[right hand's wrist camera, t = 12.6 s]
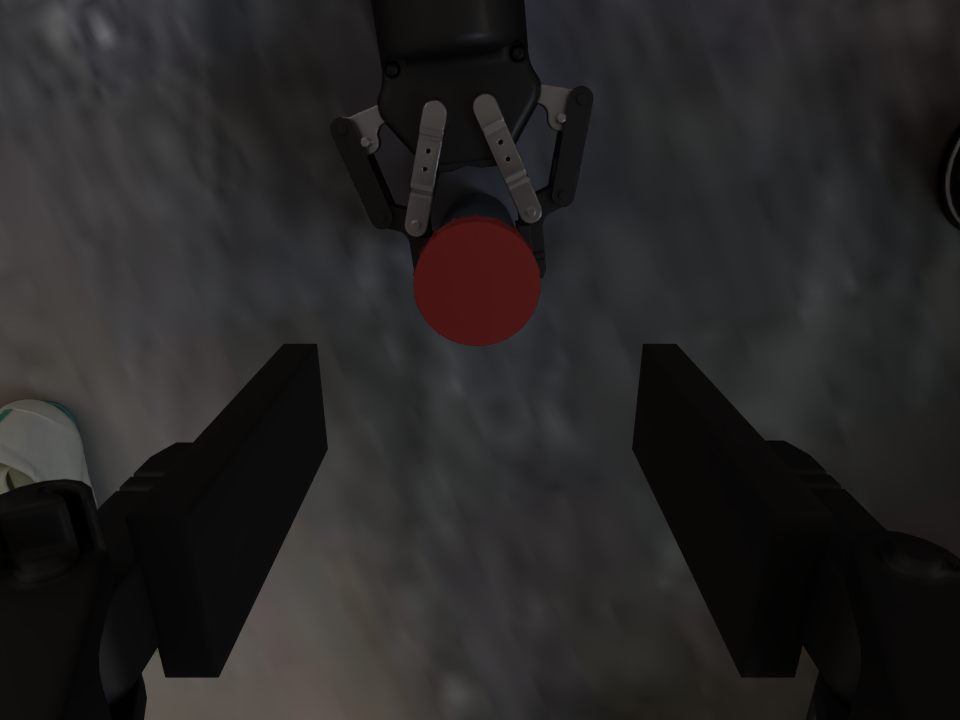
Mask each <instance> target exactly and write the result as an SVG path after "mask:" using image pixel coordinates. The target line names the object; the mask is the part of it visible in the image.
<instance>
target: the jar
mask: <svg viewBox="0 0 960 720" xmlns="http://www.w3.org/2000/svg"><path fill="white" fill-rule="evenodd" d="M474 214H476V216H487V217H492V218H495V217H498V220H501V221H503V222H505V223H507V224H508V225H510V226H511V227H513V228H514V224H513V222H512V219H511V217H510V214H509V212H508V210H507V209H506V207H505V206H504V205H503V204H502V203H501V202H500V201H499V200H497V199H496V198H494V197H492V196H490V195H487V194H482V193H473V194H468V195H465V196H463V197H461V198H459V199H457V200H456V201H455V202H454V203H453V204H452V205H451V206H450V207H449V209H448V210H447V212H446V214H445V216H444V219H443V221H442V224H441V226H440V228H441V227H443V226H444V225H446V224H447V223H449V222H451V221H452V219H453V218H455V220H456V219H459V218H462V217H467V216H474ZM440 228H439V229H440Z"/></svg>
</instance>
